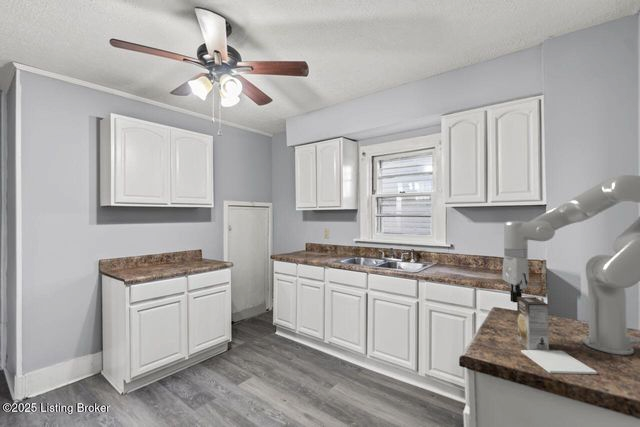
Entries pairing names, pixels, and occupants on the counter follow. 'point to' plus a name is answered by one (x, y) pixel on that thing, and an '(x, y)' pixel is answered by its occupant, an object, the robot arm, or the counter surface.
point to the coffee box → (532, 323)
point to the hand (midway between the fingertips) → (516, 301)
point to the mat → (558, 362)
